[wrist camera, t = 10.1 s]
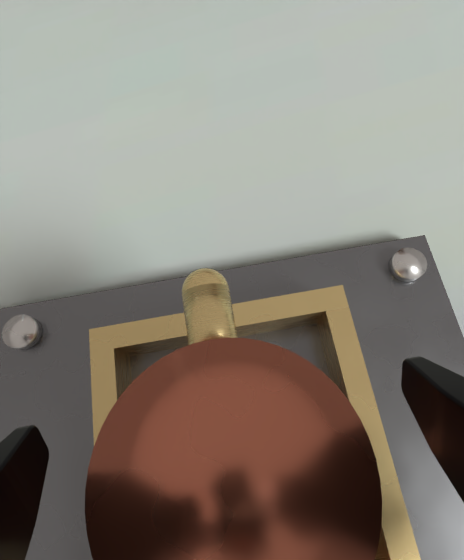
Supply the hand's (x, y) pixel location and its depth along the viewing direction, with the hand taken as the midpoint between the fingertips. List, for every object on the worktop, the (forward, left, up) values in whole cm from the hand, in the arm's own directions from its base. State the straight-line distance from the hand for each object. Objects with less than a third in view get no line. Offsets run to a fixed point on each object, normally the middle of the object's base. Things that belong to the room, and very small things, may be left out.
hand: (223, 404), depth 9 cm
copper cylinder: (0, 0, -8) cm, 8 cm away
